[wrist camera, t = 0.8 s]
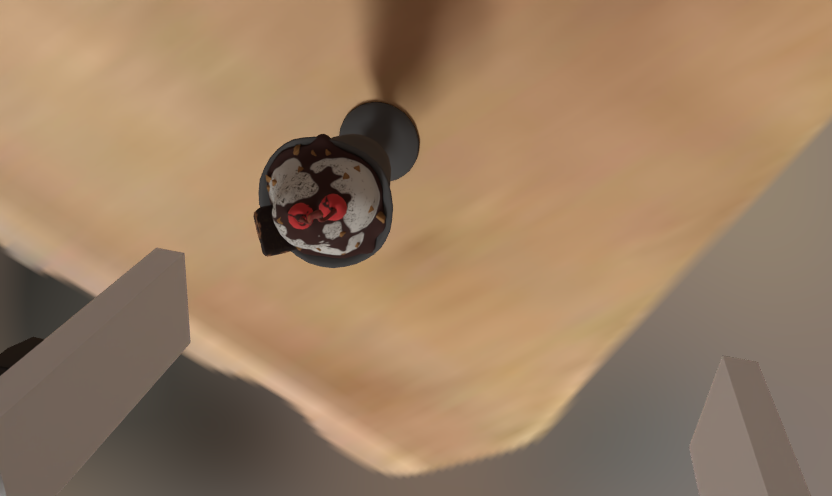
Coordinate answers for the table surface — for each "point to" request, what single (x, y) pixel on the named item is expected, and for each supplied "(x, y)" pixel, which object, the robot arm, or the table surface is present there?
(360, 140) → the sundae
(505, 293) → the table surface
